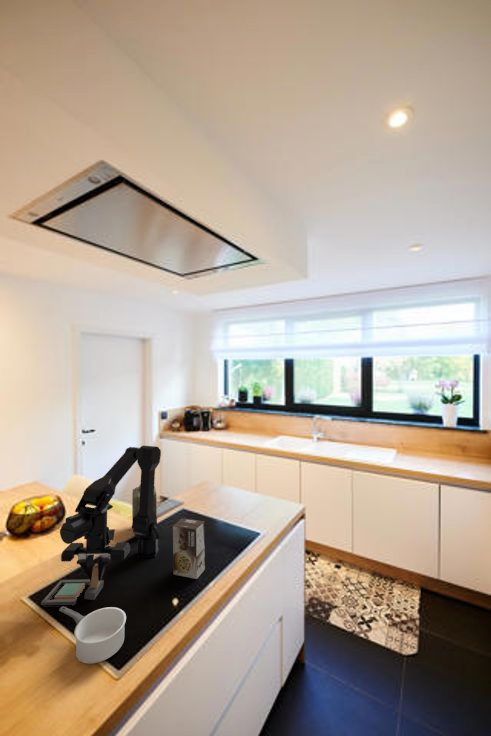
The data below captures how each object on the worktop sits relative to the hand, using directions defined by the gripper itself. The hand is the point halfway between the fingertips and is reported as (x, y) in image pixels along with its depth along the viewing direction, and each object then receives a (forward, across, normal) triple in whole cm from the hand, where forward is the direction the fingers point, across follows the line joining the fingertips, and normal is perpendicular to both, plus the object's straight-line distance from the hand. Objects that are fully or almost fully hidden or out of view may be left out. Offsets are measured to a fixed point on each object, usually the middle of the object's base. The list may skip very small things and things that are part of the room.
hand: (96, 580), depth 96 cm
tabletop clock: (+4, -2, -40) cm, 40 cm away
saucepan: (+4, -6, +18) cm, 19 cm away
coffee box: (+4, -27, -10) cm, 29 cm away
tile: (+4, +8, 0) cm, 9 cm away
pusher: (+4, +1, 0) cm, 4 cm away
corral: (+4, +8, 0) cm, 9 cm away
